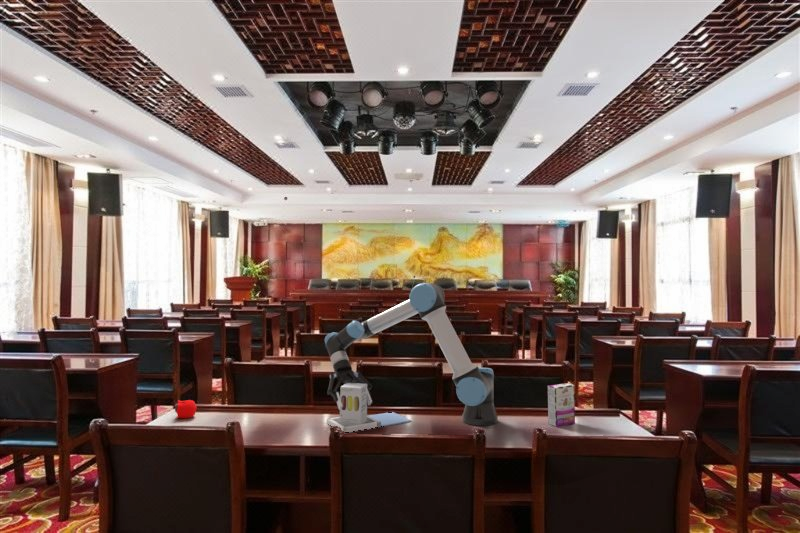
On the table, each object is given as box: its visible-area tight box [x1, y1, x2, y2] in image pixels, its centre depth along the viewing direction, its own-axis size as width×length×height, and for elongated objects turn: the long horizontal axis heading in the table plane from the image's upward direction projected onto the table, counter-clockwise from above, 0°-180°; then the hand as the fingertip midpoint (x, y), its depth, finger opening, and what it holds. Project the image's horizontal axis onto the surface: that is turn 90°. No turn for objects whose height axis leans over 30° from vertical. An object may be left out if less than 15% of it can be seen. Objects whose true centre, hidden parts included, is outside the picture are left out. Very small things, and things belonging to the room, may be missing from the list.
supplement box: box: [339, 382, 368, 427], centre depth 200 cm, size 10×9×17 cm
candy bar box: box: [547, 382, 576, 428], centre depth 204 cm, size 11×5×16 cm, turn 117°
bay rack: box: [326, 411, 412, 433], centre depth 204 cm, size 16×32×2 cm, turn 122°
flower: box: [176, 399, 198, 419], centre depth 211 cm, size 8×8×8 cm
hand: (355, 405), depth 198 cm, fingers open, 13 cm apart
